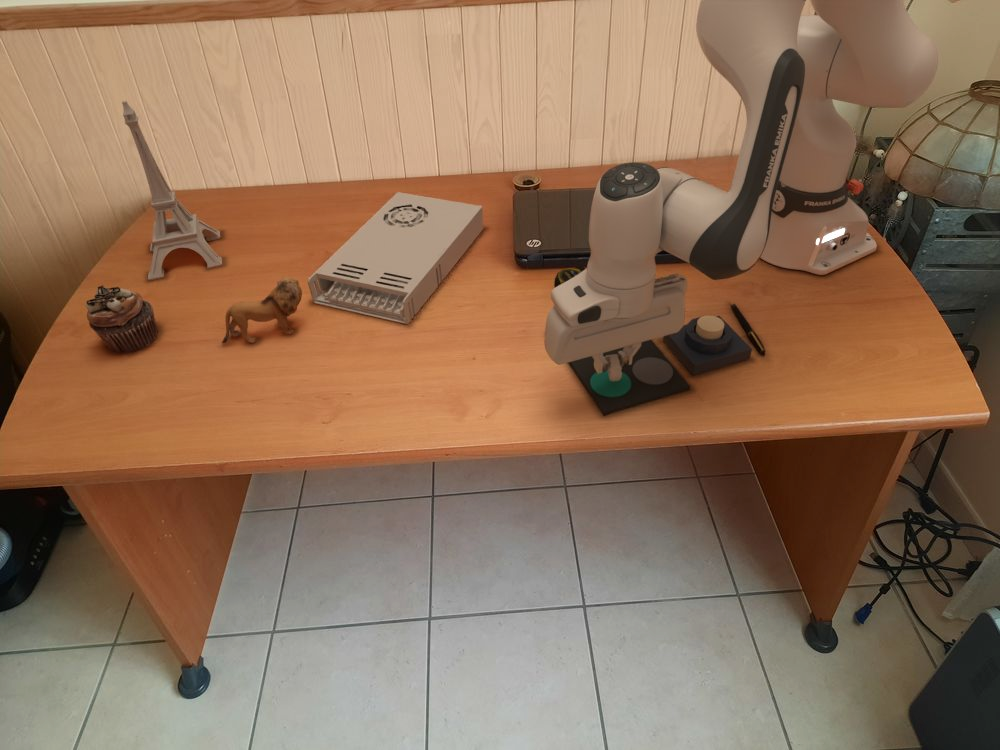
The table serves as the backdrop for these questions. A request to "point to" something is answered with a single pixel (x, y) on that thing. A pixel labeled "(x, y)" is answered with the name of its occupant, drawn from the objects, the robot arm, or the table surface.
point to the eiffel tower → (184, 224)
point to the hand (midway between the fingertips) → (612, 366)
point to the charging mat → (631, 380)
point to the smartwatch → (614, 367)
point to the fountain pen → (748, 329)
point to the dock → (707, 348)
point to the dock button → (709, 327)
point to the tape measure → (567, 275)
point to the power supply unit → (397, 257)
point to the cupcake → (122, 319)
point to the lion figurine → (265, 309)
